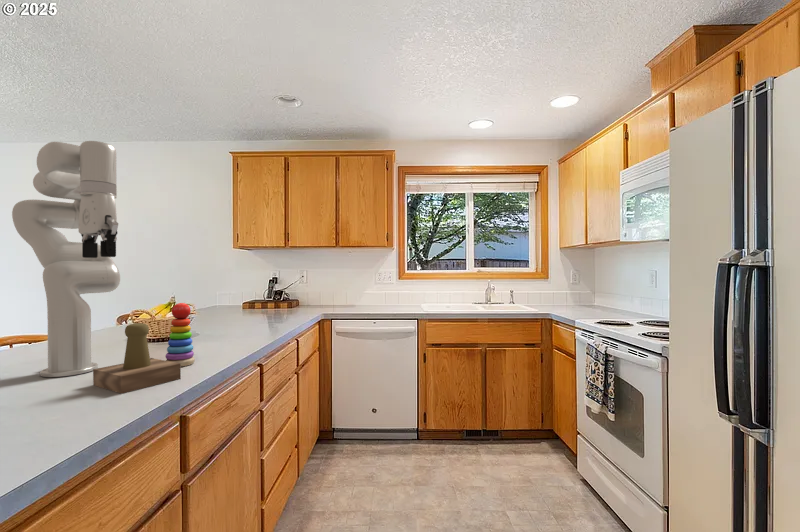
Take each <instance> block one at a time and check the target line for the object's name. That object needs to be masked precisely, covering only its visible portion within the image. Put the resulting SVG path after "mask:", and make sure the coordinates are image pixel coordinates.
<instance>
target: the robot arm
mask: <svg viewBox="0 0 800 532" xmlns="http://www.w3.org/2000/svg"><path fill="white" fill-rule="evenodd" d="M36 166H37V170H38V172H37V173H36V174H35V175H34V177H33V179H32V184H33V185H32V186H33V187H34V189H35V190H36V191H37V192H38V193H39V194H42V196H46V197H49V198H54V199H63V200H73V202H64V201H56V200H45V199H25V200H20V201H18V202H16V203H15V204H14V206H13V207H12V211H11V216H12V221H13V222H12V223H13V225H14V227H15V230H16V231H17V234H18V235H19V236H20V238H22V239H23V241H25V242H26V243H27V244H28V245H29V246H30V247H31V249H32V250H33V252H34V253H35V256H36V257H37V260H38V262H39V263H40V265H41V266H42V267H43V272H42V281H43V287H44V292H45V295H46V298H45V299H46V308H47V367H45V368H44V369H41V370H40V372H39V374H40V376H41V377H43V378H59V377H68V376H69V377H71V376H77V375H81V374H85V373H90V372H93V369H97V368H99V364H98V363H97V362H92V311H91V310H92V309H91V307H90V305H89V304H88V302H87V301H86V300H85V299H84V298H83V297H82V296H81V295H85V294H86V295H87V294H102V293H103V294H104V293H110V292H113V291H115V290H116V289H118V288H119V286H120V284H121V283H120V282H121V274H120V271H119V268H118V267H117V265H116V263H115V261H114V260H113V259H112V258H115V257H116V256H117V240H118V239H117V238H118V237H117V235H118V227H119V223H118V220H117V206H116V199H117V197H118V196H117V193H118V191H117V149H116V148H115V147H114V146H113V145H112V144H109V143H107V142H103V141H99V140H98V141H97V140H85V141H83V142H81V143H80V145H77V144H72V143H67V142H62V141H50V142H48V143H46V144H44V145H43V146H42V147H41V148H40V149H39V151H38V152H37V156H36ZM56 228H57V229H70V230H78V231H77V232H78V233H79V234H80V236H81V242H79V241H77V242H76V241H69V240H68V239H67V237H66V236H65V235H64V234H63V233H62V232H60V230H57V229H56ZM99 236H100V237H101V239H102V240H100V244H99V243H98V242H97V240H98V237H99Z"/></svg>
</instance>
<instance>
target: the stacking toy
mask: <svg viewBox="0 0 800 532" xmlns="http://www.w3.org/2000/svg"><path fill="white" fill-rule="evenodd" d="M191 310H192V309H191V307H190V305H189V304H187V303H185V302H179V303H177V304H176V303H175V305H173V307H172V308H171V314H172V316H173V318H174V319H172V320H171V325H172V326H171V327H170V328H169V331H170V333H169V340H168V342H167V345H168V346H167V348H166V352H167V353H165V361H170V362H175V363H180V367H187V366H191V365H193V364H194V363H195V357H194V355H195V354H194V353H195V352H193V350H194V345H193V339H192V335H193V334H192V332H191V330H192V328H191V326H190V325H191V320H190V319H189V316H190V315H191Z"/></svg>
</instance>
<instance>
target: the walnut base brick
mask: <svg viewBox="0 0 800 532" xmlns="http://www.w3.org/2000/svg"><path fill="white" fill-rule="evenodd" d="M150 362H151V365H150V366H148V367H144V368H138V369H124V368H123V365H124V362H123V363H118V364H114V365H108V366H104V367H98V368H97V369H93V371H92V373H93V374H92V375H93V376H92V379H93V380H92V385H93V386H94V387H97V388H101V389H105V390H108V391H112V392H114V393H117V394H118V393H119V394H121V395H122V394H125V393H129V392H133V391H137V390H142V389H146V388H149V387H153V386H157V385H161V384H165V383H169V382H173V381H177V380H181V377H182V376H181V370H182V369H181V367H180V363H175V362H170V361H166V359H165V360H164V359H158V358H153V357H150Z"/></svg>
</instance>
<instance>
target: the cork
mask: <svg viewBox="0 0 800 532" xmlns="http://www.w3.org/2000/svg"><path fill="white" fill-rule="evenodd" d="M149 331H150V328H149V325H148V324H147V323H143V322H142V323H140V322H136V323H131V324H128V325H126V326H125V329H124V335H125V336H126V337H127V338H126V346H125V353H124V359H123V360H124V361H123V363H124V365H123V368H124V369H138V368H144V367H148V366H150V365H151V362H150V358H151V357H150V356H151V355H150V351H149V343H148V339H147V335H149Z"/></svg>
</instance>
